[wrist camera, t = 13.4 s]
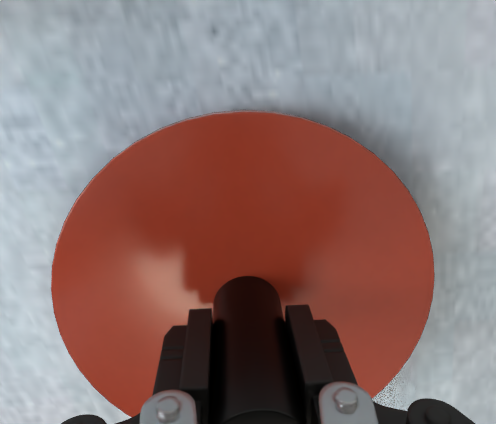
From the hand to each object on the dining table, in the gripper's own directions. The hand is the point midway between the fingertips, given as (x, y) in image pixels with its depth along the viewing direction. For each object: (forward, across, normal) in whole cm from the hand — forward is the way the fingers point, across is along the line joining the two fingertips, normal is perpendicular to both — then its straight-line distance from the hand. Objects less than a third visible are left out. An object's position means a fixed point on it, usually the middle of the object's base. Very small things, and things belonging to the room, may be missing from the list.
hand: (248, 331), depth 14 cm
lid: (+2, 0, 0) cm, 2 cm away
